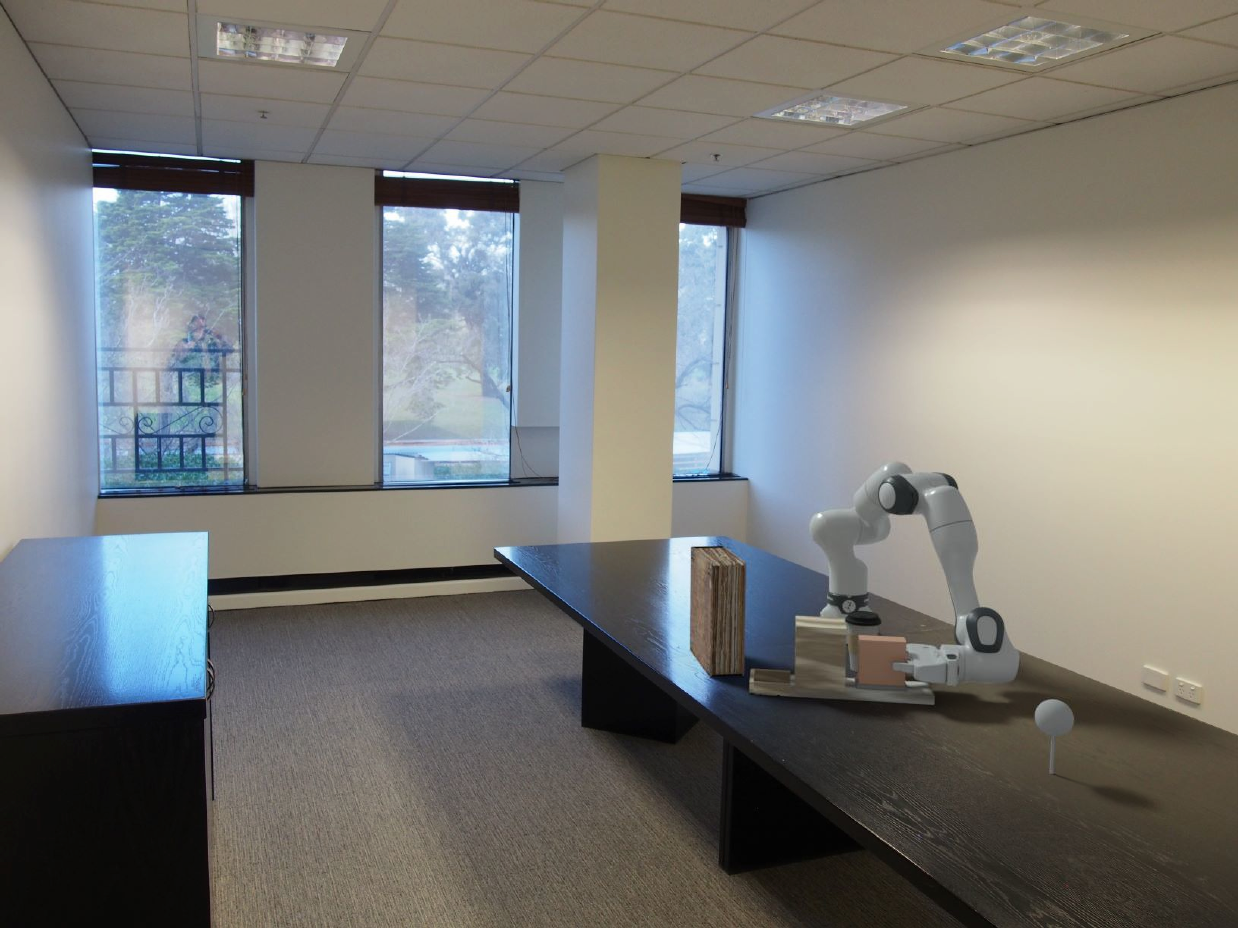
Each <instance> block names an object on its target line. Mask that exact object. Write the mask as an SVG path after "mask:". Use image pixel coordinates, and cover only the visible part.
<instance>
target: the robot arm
mask: <svg viewBox="0 0 1238 928" xmlns="http://www.w3.org/2000/svg"><path fill="white" fill-rule="evenodd" d="M852 498H853V499H852V501H853V502H852V503H853V507H851V508H850V507H849V508H836V509H835V508H834V509H828V510H823V511H821V512H817V513H815V514H814V515H813V516H812V517H811V519H810V521H809V526H808V529H809V530H808V531H809V536H810V538H811V540H812V541H813V542H814V544H816V545H817V546H818V547H819V548H820V549H821V550H822V551H823V554H824V556H825V558H826V560H827V565H828V577H829V578H828V584H829V585H828V590H827V594H826V602H827V605H826V606H825V607H823V609H822V610H821V611H820V613H819V617H835V618H844V620H845V619H846V617H847V616H848V613H849V612H852V611H869V612H873V611H872V609H870V608H869V601H870V597H869V592H868V581H869V580H868V579H869V578H868V577H869V576H868V575H869V569H868V566H867V564H866V563H865V562H863V560H861V559H860V558H857V557H856V555H855V551H854V546H866V545H873V544H877V543H880V542H883V541H885V540H886V539H887V538H888V537H889V535H890V533H891V525H892V524H891V519H890V518H889V516H890V515H894V516H895V515H896V516H908V515H909V516H910V515H911V516H912V515H913V516H915V515H917V516H919V515H921V516H923V517H924V519H925V523H926V526H927V529H928V532H929V536H930V539H931V542H932V546H933V547H934V548H933V549H934V550H935V553H936V555H937V558H938V561H939V563H940V565H941V569H942V570H943V573H944V576H945V579H946V583H947V586H948V587H947V588H948V591H949V594H950V595H949V596H950V598H951V603H952V606H953V611H954V617H955V620H954V621H955V622H954V629H953V637H954V641H955V643H956V644H941V645H940V648H937V647H936V646H934V645H930V644H922V643H906V663H900V662H895V661H894V662H893V663H892V667H893V670H898V671H903V672H905V673H907V674H912V675H913V677H914V679H915V680H916V681H918V682H928V683H929V684H931V683H932V684H940V685H941V684H945V685H946V686H947V687H956V685H957V684H958V683H967V682H976V683H979V684H989V685H990V684H991V685H997V684H1009V683H1011V682H1013V681H1014V680H1015V679H1016V678H1017V677H1018V674H1019V671H1020V667H1021V654H1020V651H1018V650H1017V649H1016V648H1015V646H1014V645H1013V643H1012V641H1011V639H1010V637H1009V635H1008V632H1007V630H1006V627H1005V621H1004V619H1003V618H1002V616H1001V615H1000V613H999V612H998V611H996V610H995V609H993V608H990V607H986V606H981V605H980V601H979V597H978V594H977V589H976V587H975V582H974V573H973V572H974V566H975V562H976V557H977V555H978V551H979V543H978V541H979V540H978V533H977V529H976V525H975V523H974V521H973V517H972V515H971V512H970V509H969V507H968V505H967V503H966V500H965V499H964V496H963V495H962V493H961V492H960V490H959V485H958V483H957V480H955V478H954V477H953V476H952V475H949V474H948V473H944V472H938V471H935V472H913V470H912V469H911V468H910V467H909V465H907V464H905V463H904V462H901V461H898V460H897V461H896V460H893V461H889V462H886V463H885V464H884V465H882V466H881V467H879V468H878V469H877V470H875V472H874V473H873V474H871V475H870V476H869V477H868V478H867V480H866V481H864V482H863V484H862V485H861V486H859V488H858V489H857V490H856V491H855V493H854V495H853V497H852ZM845 624H846V628H847V630H848V626H847V622H845ZM846 645H848V634H847V636H846Z"/></svg>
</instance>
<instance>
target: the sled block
mask: <svg viewBox="0 0 1238 928" xmlns="http://www.w3.org/2000/svg"><path fill="white" fill-rule="evenodd" d="M906 644H907V640H906V638H905V637H904V636H889V635H888V636H887V635H885V636H884V635H878V636H869V635H859V637H858V669H857V672H856V673H857V676H854V678H855V684H856V688H857V689H874V690H891V691H907V685H906V683H905V681H906V672H903V671H898V670H893V667H892V663H893V662H894V661H895V662H900V663H907V659H906Z"/></svg>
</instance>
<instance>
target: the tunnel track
mask: <svg viewBox="0 0 1238 928" xmlns="http://www.w3.org/2000/svg"><path fill="white" fill-rule="evenodd" d="M794 628H795V629H794V631H795V633H794V666H793V667H794V668H793V669H794V671H793V674H791V670H781V669H767V668H765V669H762V668H761V669H760V668H751V669H750V673H749V674H750V675H749V684H748V685H749V687H748V690H749V691H748V693H755V694H754V695H760V694H761V695H762V696H777V695H780V696H781V697H795V698H796V697H797V698H812V699H813V698H814V699H828V700H829V699H830V700H831V699H832V700H845V701H846V700H847V701H849V700H850V701H863V702H864V701H866V702H868V701H869V702H881V703H897V704H911V705H912V704H916V705H918V704H919V705H935V697H936V696H935V694H934V692H933V690H932V688H931V686H930V685H931V684H930V682H922V681H913V680H911V681H910V680H908V681H907V680H905V683H906V685H907V691H891V690H874V689H857V688H856V684H855V677H846V663H847V662H846V661H847V644H846V636H847V628H846V624H845V620H844V618H835V617H820V616H813V615H812V616H810V615H809V616H808V615H795V627H794ZM761 695H760V696H761ZM780 696H779V697H780Z"/></svg>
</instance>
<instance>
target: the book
mask: <svg viewBox="0 0 1238 928" xmlns="http://www.w3.org/2000/svg"><path fill="white" fill-rule="evenodd" d="M689 587H690V588H689V589H690V591H689V592H690V596H689V597H690V599H689V600H690V607H689V608H690V609H689V610H690V611H689V613H690V614H689V615H690V616H689V651H690V652H691V653H692V654H693V656H694V658H695V659H696V660H697V661H698V664H699V665H700V666H701V667H702V669H703V671H705V673H706V674H707V675H708V677H709V676H710V677H711V678H712V676H719V675H723V676H724V675H741V674H742V675H741V676H745V657H746V656H745V655H746V654H745V653H746V652H745V648H746V604H747V603H746V602H747V601H746V600H747V599H746V598H747V596H746V595H747V594H746V592H747V563H746V561H744V560H743V559H742V558H740V557H739V556H738V555H736V554H735V553H733V552H732V551H730V550H729V549H728V548H727V547H726V546H724V545H712V546H711V545H701V546H698V545H697V546H691V547H690V586H689ZM710 677H709V678H710Z"/></svg>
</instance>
